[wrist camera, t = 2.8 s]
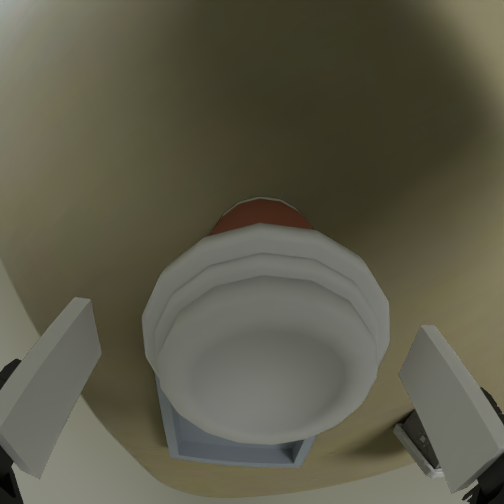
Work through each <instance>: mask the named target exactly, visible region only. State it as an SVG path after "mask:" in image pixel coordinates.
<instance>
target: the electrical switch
mask: <svg viewBox="0 0 504 504" xmlns="http://www.w3.org/2000/svg"><path fill="white" fill-rule="evenodd" d="M393 433H394V434H395V435H396V437H397V438H398V439H399V441H400V442H401V443H402V445H403V446H404V447H405V449H406V450H407V451H408V452H409V454H410V455H411V456H412V458H413V459H414V460H415V462H416V463H417V464H418V466H419V467H420V468H421V470H422V471H423V472H424V474H425V475H426V476H428V477H430V478H437V477H443V476H444V473H443V471H442V469H441V466H440V464H439V461H438V459H437V456H436V454H435V452H434V449H433V447H432V445H431V443H430V440H429V438H428V436H427V433H426V431H425V429H424V427H423V425H422V422H421V420H420V418H419V416H418V414H417V412H416V409H414V411H413V412H412V414H411V415H410V417H409V418H408V419H407V420H406V421H405V423H404V424H398V423H397V424H396V426H395V427H394V429H393Z"/></svg>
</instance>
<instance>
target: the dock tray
mask: <svg viewBox="0 0 504 504" xmlns="http://www.w3.org/2000/svg"><path fill="white" fill-rule="evenodd" d="M155 378H156V385H157V391H158V397H159V403H160V409H161V414H162V420H163V425H164V430H165V435H166V440H167V444H168V449H169V453H170V458H176V459H182V460H188V461H195V462H203V463H212V464H221V465H233V466H248V467H278V468H291V467H301V466H302V464H303V462H304V460H305V458H306V456H307V454H308V452H309V450H310V448H311V446H312V444H313V442H314V440H315V438H316V436H317V435H314V436H312V437H310V438H307V439H303V440H298V441H293V442H287V443H280V444H274V445H266V444H249V443H238V442H234V441H231V440H228V439H225V438H221V437H218V436H215V435H212V434H209V433H206V432H205V431H203V430H202V429H200V428H199V427H197V426H196V425H194V424H193V423H191V422H190V421H188V420H187V419H185V418H184V417H183V416H181V415H180V414H179V413H178V412H177V411H176V410H175V408H174V407H173V405H172V404H171V402H170V401H169V400H168V398H167V397H166V395H165V394H164V392H163V391H162V389H161V388H160V379H159V378H158V376H157V375H156V373H155Z"/></svg>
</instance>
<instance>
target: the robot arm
mask: <svg viewBox="0 0 504 504" xmlns="http://www.w3.org/2000/svg"><path fill="white" fill-rule="evenodd" d="M101 355H102V351H101V347H100V342H99V338H98V333H97V328H96V324H95V319H94V313H93V308H92V302H91V299H85V298H79V297H74V298H73V299H72V301H71V302H70V303H69V304H68V305H67V306H66V307H65V309H64V310H63V311H62V312H61V313H60V314H59V316H58V317H57V318H56V319H55V320H54V321H53V323H52V324H51V325H50V326H49V327H48V329H47V330H46V331H45V332H44V333H43V335H42V336H41V337H40V338H39V340H38V341H37V342H36V343H35V345H34V346H33V347H32V348H31V350H30V351H29V352H28V353H27V355H26V356H25V357H24V359H23V360H22V361H21V360H19V359H15V360H13V361H12V362H11V363H9V364H8V365H6V366H5V367H4V368H3V370H2V371H1V372H0V504H23V500H22V497H21V494H20V491H19V488H18V485H17V481H16V478H15V474H14V472H13V470H12V468H11V466H12V464H13V462H14V463H15V464H17V466H18V467H19V468H20V469H21V470H22V471H24V472H26V473H28V474H30V475H32V476H34V477H36V478H38V479H40V478H41V475H42V473H43V470H44V468H45V466H46V463H47V461H48V459H49V457H50V455H51V452H52V450H53V448H54V446H55V444H56V442H57V439H58V437H59V435H60V433H61V431H62V429H63V427H64V425H65V423H66V421H67V419H68V417H69V415H70V413H71V411H72V409H73V407H74V405H75V403H76V401H77V399H78V397H79V395H80V394H81V392H82V390H83V388H84V386H85V384H86V382H87V380H88V378H89V377H90V375H91V373H92V371H93V369H94V367H95V366H96V364H97V362H98V360H99V358H100V357H101ZM399 376H400V378H401V380H402V382H403V384H404V386H405V389H406V391H407V393H408V395H409V397H410V399H411V401H412V403H413V405H414V407H415V409H416V412H417V414H418V416H419V418H420V420H421V422H422V425H423V427H424V429H425V431H426V433H427V436H428V438H429V440H430V443H431V445H432V447H433V449H434V452H435V454H436V456H437V459H438V461H439V464H440V466H441V469H442V471H443V473H444V476H445V478H446V481H447V483H448V486H449V489H450V491H451V493H454V492H457V491H460V490H462V489H464V488H467V487H468V486H469V485H470V484H471V483H472V482H474V481H475V480H476V479H477V480H478V483H479V484H477V485H476V486H475V487H474V488H473V489H472V490H470V491H469V492H468V493H467V494H465V495H464V497H463V499H462V500H465V499H467V498H468V497H469V496H470V495H472V497H471V498H470V499H469V500H468V501H467V502H470V504H504V415H503V414H502V411H501V410H500V408H499V407H497V404H496V402H495V401H494V399H493V398H492V396H491V395H490V394H489V393H488V392H487V391H485V390H484V389H483V388H482V387H481V388H480V387H479V386H478V384H477V383H476V381H475V380H474V378H473V377H472V376H471V374H470V373H469V371H468V370H467V368H466V367H465V366H464V364H463V363H462V361H461V360H460V359H459V357H458V356H457V354H456V353H455V352H454V350H453V349H452V348H451V346H450V345H449V344H448V342H447V341H446V340H445V338H444V337H443V336H442V334H441V333H440V332H439V330H438V329H437V328H436V326H435V325H420V328H419V330H418V333H417V335H416V337H415V340H414V342H413V344H412V346H411V348H410V351H409V353H408V355H407V357H406V359H405V361H404V364H403V366H402V368H401V370H400V372H399Z"/></svg>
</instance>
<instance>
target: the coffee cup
mask: <svg viewBox="0 0 504 504" xmlns="http://www.w3.org/2000/svg"><path fill="white" fill-rule="evenodd" d="M142 327H143V338H144V348H145V356H146V358H147V360H148V362H149V363H150V365H151V367H152V368H153V370H154V371H155V373H156V375H157V376H158V378H159V379H160V388H161V389H162V391H163V392H164V394H165V395H166V397H167V398H168V400H169V401H170V402H171V404H172V405H173V407H174V408H175V410H176V411H177V412H178V413H179V414H180V415H181V416H183V417H184V418H185V419H187V420H188V421H190V422H191V423H193V424H194V425H196V426H197V427H199V428H200V429H202V430H203V431H205V432H206V433H209V434H212V435H215V436H218V437H221V438H225V439H228V440H231V441H234V442H238V443H249V444H266V445H274V444H280V443H287V442H293V441H298V440H303V439H307V438H310V437H312V436H314V435H317V434H319V433H321V432H323V431H326V430H328V429H330V428H332V427H335V426H336V425H338V424H339V423H340V422H341V421H343V420H344V419H345V418H346V417H347V416H349V415H350V414H351V413H352V412H353V411H354V410H356V409H357V408H358V407H359V406H360V405H361V404H362V403H363V402H364V400H365V398H366V396H367V394H368V392H369V391H370V389H371V387H372V385H373V383H374V381H375V379H376V377H377V369H378V367H379V365H380V362H381V360H382V358H383V356H384V354H385V352H386V350H387V347H388V345H389V342H390V326H389V302H388V300H387V298H386V296H385V295H384V293H383V291H382V290H381V288H380V286H379V285H378V283H377V281H376V280H375V278H374V276H373V275H372V273H371V271H370V270H369V268H368V266H367V265H366V263H365V262H364V261H363V259H362V258H361V257H360V256H359V255H357V254H355V253H354V252H352V251H350V250H349V249H347V248H346V247H344V246H342V245H341V244H339V243H337V242H336V241H334V240H332V239H331V238H329V237H327V236H326V235H324V234H322V233H321V232H319V231H317V230H314V229H313V228H312V227H311V225H310V224H309V223H308V222H307V221H306V220H305V218H304V217H303V216H302V215H301V213H300V212H299V211H298V209H297V208H295V207H293V206H291V205H290V204H288V203H286V202H285V201H283V200H281V199H277V198H270V197H262V196H258V197H254V198H250V199H246V200H243V201H239V202H238V203H237V204H235V205H234V206H233V207H231V208H230V209H229V210H227V211H226V212H225V213H223V215H222V217H221V219H220V220H219V222H218V223H217V225H216V226H215V228H214V229H213V231H212V232H211V233H210V235H209V236H207V237H204V238H202V239H201V240H200V241H198V242H197V243H196V244H195V245H193V246H192V247H191V248H190V249H188V250H187V251H186V252H184V253H183V254H182V255H181V256H179V257H178V258H177V259H176V260H174V261H173V262H172V263H171V264H169V265H168V266H167V267H166V268H164V270H163V271H162V273H161V275H160V277H159V279H158V281H157V283H156V285H155V287H154V290H153V292H152V294H151V296H150V298H149V301H148V303H147V305H146V308H145V310H144V312H143V314H142Z"/></svg>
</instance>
